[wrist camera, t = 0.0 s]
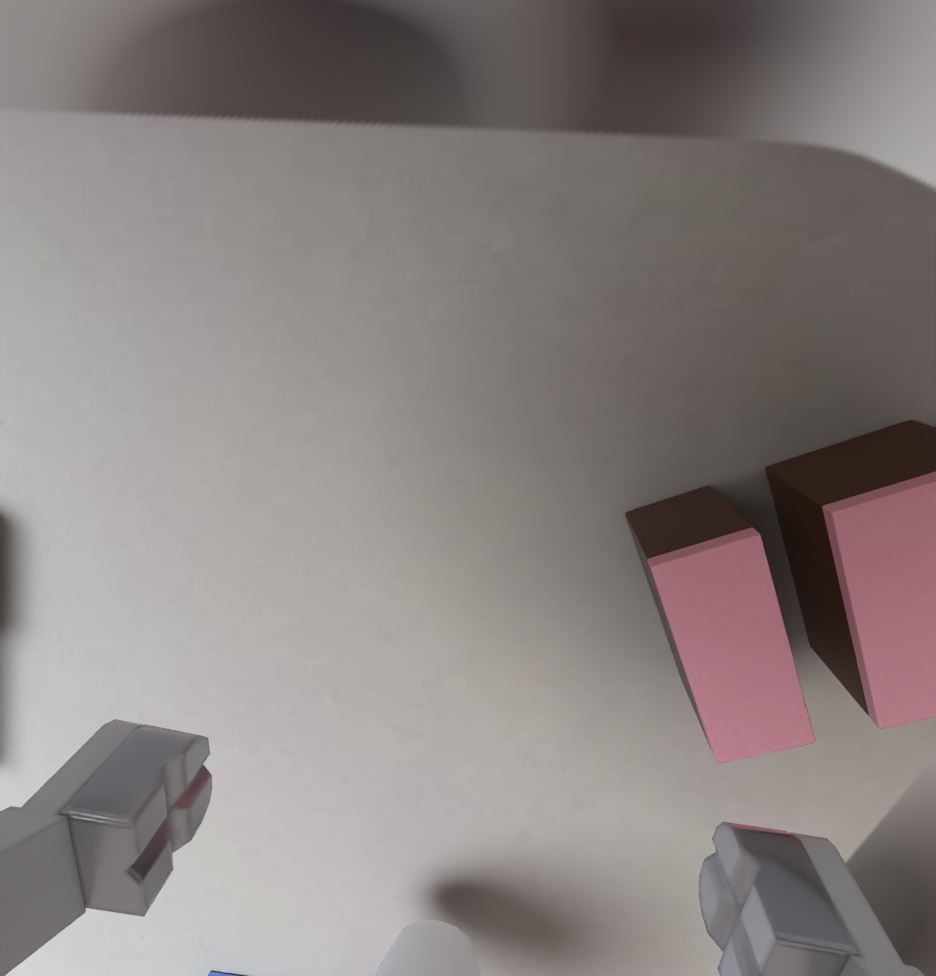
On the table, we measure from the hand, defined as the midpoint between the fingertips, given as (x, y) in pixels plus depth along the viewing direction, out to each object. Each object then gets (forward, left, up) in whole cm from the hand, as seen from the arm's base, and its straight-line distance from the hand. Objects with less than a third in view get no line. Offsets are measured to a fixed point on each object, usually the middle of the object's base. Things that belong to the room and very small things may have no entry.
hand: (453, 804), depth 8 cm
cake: (+9, +14, -18) cm, 24 cm away
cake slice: (+9, +7, -18) cm, 21 cm away
